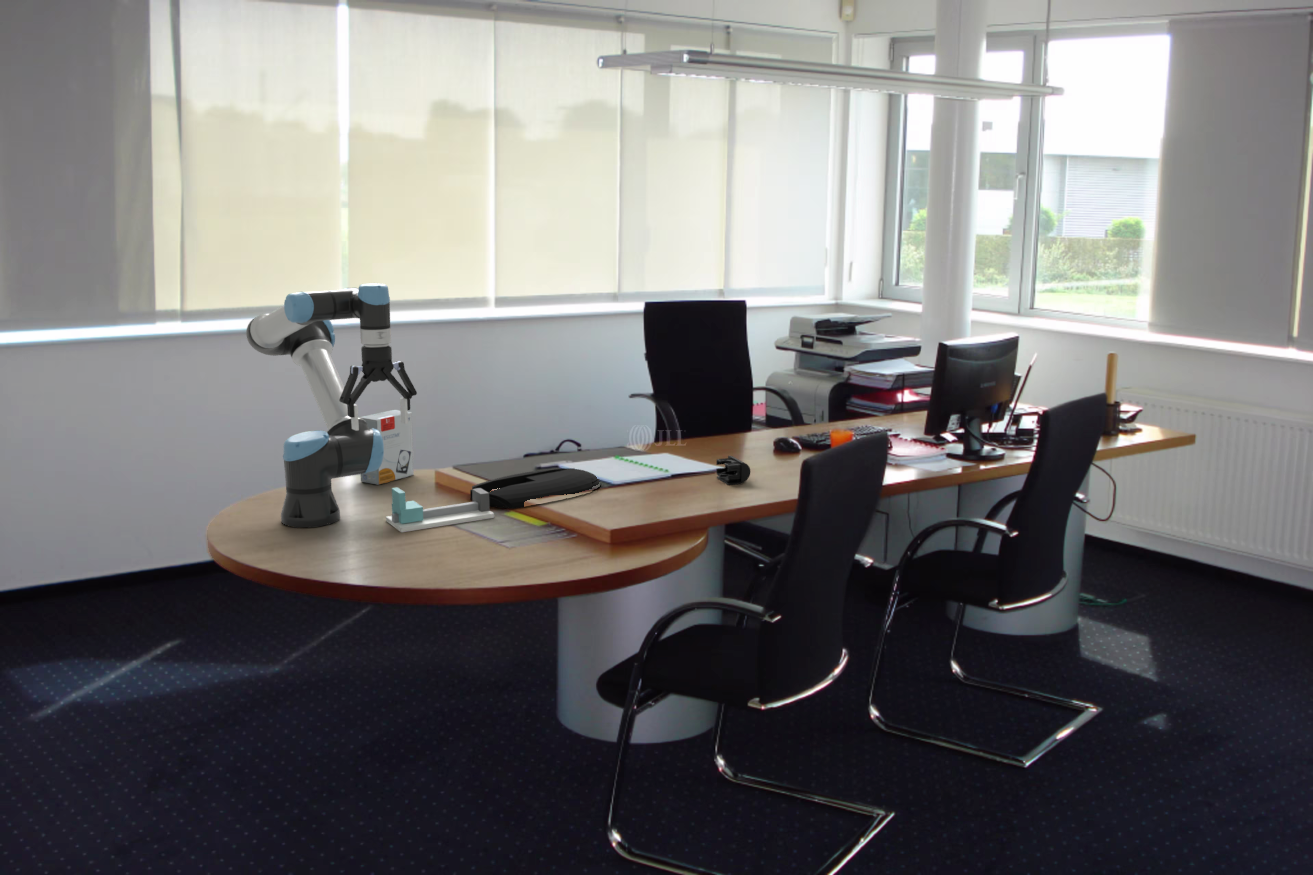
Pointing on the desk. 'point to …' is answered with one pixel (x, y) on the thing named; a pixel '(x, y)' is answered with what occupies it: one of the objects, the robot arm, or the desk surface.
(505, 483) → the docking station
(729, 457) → the black plastic connector
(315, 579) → the desk surface
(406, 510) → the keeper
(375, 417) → the hard drive box
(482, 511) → the rail board
